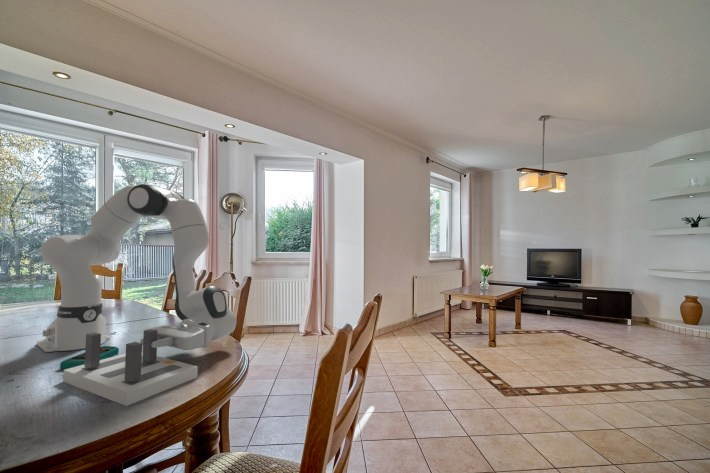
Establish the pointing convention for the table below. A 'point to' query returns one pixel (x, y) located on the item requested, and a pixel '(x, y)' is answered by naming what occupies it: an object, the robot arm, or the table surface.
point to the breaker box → (115, 387)
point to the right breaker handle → (133, 361)
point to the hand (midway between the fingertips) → (146, 343)
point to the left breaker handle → (92, 350)
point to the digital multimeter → (80, 359)
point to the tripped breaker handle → (148, 351)
